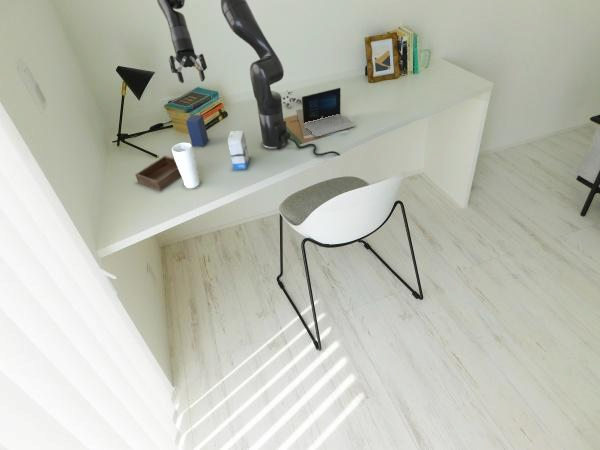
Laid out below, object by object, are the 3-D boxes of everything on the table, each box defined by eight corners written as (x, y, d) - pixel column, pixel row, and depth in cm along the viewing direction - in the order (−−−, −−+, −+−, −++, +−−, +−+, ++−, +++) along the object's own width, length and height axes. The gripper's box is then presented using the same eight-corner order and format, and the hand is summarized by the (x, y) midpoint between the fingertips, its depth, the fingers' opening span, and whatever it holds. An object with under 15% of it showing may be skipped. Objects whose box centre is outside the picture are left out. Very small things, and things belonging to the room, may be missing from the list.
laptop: (315, 138, 161) (314, 107, 153) (303, 126, 170) (301, 96, 162) (354, 127, 166) (355, 97, 158) (340, 116, 175) (340, 87, 167)
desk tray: (189, 170, 149) (187, 162, 146) (160, 190, 139) (157, 182, 137) (167, 163, 154) (164, 155, 151) (138, 182, 144) (135, 174, 142)
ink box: (246, 169, 146) (241, 141, 139) (232, 170, 147) (227, 141, 139) (249, 157, 153) (244, 129, 145) (236, 158, 153) (231, 130, 146)
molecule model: (306, 108, 188) (306, 90, 187) (287, 107, 181) (287, 88, 179) (298, 109, 193) (298, 92, 191) (278, 108, 186) (278, 90, 184)
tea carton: (208, 139, 166) (202, 115, 159) (203, 146, 162) (197, 121, 155) (197, 139, 167) (191, 115, 160) (192, 146, 163) (185, 121, 156)
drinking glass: (184, 180, 144) (173, 143, 134) (203, 178, 144) (193, 141, 134) (181, 191, 138) (169, 153, 129) (201, 189, 139) (190, 151, 129)
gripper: (166, 37, 153) (177, 80, 154) (201, 36, 160) (212, 77, 161) (162, 45, 159) (173, 86, 161) (196, 44, 166) (206, 83, 168)
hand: (192, 81), depth 161 cm, fingers open, 8 cm apart
